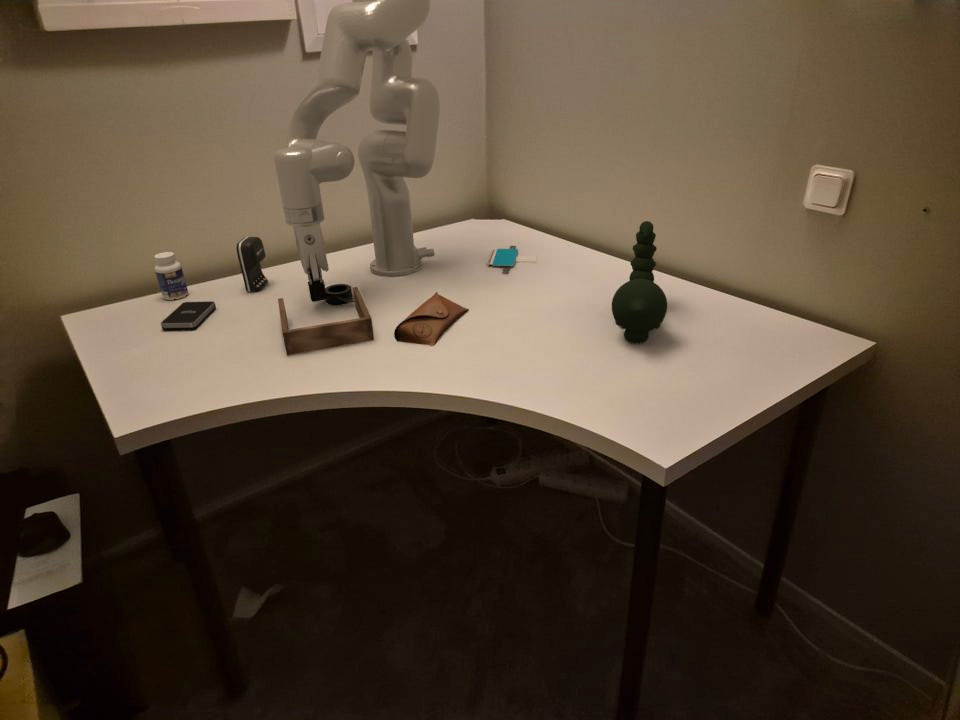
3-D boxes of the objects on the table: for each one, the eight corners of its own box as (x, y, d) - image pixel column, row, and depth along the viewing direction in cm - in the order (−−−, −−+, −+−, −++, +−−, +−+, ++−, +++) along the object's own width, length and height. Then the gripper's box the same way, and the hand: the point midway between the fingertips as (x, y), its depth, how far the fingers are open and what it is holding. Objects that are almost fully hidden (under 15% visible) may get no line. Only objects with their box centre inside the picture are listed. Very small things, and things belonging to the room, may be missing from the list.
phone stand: (534, 276, 145) (534, 270, 145) (483, 275, 147) (483, 269, 146) (539, 248, 163) (539, 242, 162) (493, 248, 164) (493, 242, 164)
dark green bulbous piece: (615, 308, 131) (605, 355, 108) (622, 215, 123) (613, 244, 101) (662, 311, 129) (663, 360, 106) (673, 216, 121) (676, 247, 98)
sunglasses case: (435, 346, 115) (415, 315, 113) (407, 359, 118) (388, 329, 117) (471, 308, 129) (454, 280, 128) (445, 320, 133) (428, 294, 131)
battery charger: (261, 293, 141) (251, 243, 136) (245, 293, 141) (234, 244, 136) (273, 281, 147) (263, 234, 142) (257, 281, 147) (246, 234, 142)
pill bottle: (172, 302, 138) (160, 260, 133) (158, 298, 140) (145, 256, 136) (194, 294, 142) (182, 252, 137) (179, 290, 144) (167, 249, 140)
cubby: (360, 306, 132) (357, 286, 130) (374, 340, 118) (371, 318, 116) (282, 319, 128) (277, 298, 126) (286, 355, 114) (282, 333, 112)
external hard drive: (217, 309, 134) (215, 301, 134) (195, 332, 125) (193, 323, 124) (186, 310, 135) (183, 301, 134) (161, 333, 125) (158, 324, 124)
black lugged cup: (319, 312, 131) (317, 299, 130) (323, 294, 140) (320, 282, 138) (357, 308, 132) (355, 296, 131) (357, 291, 141) (356, 278, 139)
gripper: (327, 221, 118) (341, 310, 127) (319, 202, 131) (332, 284, 140) (286, 226, 116) (303, 316, 125) (282, 206, 129) (298, 289, 138)
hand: (318, 299), depth 132 cm, fingers closed
